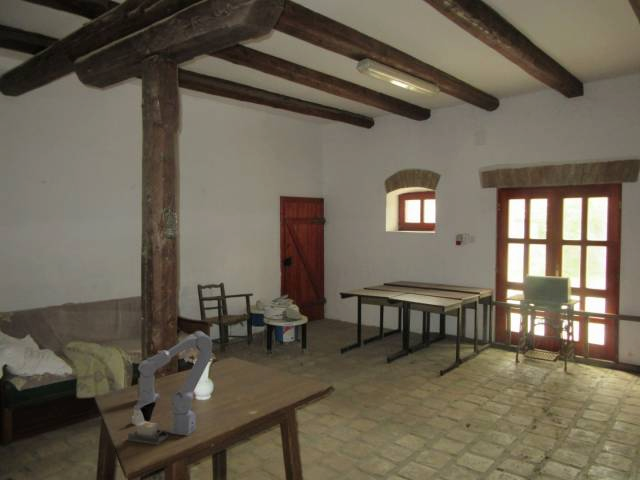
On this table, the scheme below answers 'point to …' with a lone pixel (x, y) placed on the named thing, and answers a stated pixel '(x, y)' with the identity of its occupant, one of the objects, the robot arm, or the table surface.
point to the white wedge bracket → (137, 417)
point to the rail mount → (149, 437)
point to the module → (147, 429)
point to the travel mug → (139, 384)
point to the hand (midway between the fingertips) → (147, 420)
